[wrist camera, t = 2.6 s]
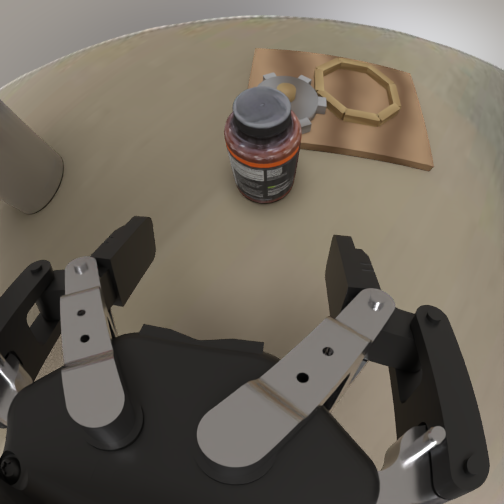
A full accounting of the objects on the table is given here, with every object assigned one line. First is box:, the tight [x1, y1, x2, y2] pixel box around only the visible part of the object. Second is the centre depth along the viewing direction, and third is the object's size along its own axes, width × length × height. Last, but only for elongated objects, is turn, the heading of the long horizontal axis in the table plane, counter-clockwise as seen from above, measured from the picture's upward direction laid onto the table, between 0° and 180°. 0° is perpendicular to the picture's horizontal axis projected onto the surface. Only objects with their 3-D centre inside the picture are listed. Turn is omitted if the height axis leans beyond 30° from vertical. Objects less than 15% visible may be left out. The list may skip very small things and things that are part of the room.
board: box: [248, 48, 434, 171], centre depth 29 cm, size 22×16×4 cm
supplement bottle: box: [224, 86, 302, 203], centre depth 23 cm, size 6×6×11 cm
